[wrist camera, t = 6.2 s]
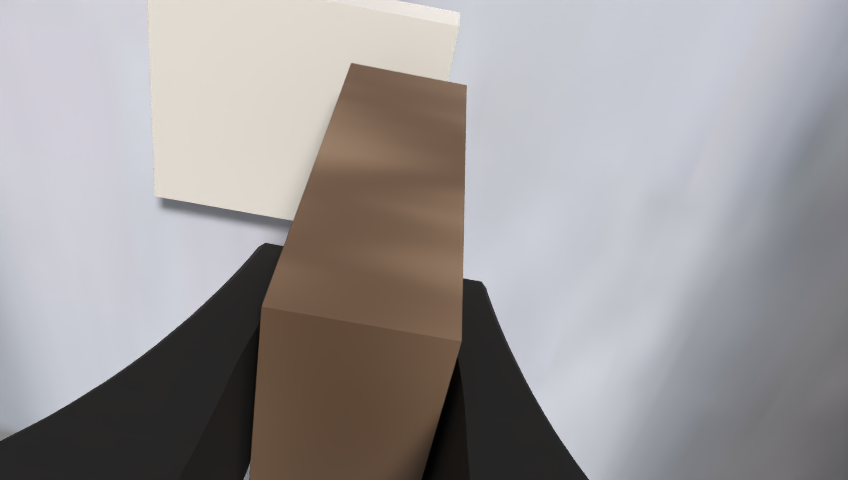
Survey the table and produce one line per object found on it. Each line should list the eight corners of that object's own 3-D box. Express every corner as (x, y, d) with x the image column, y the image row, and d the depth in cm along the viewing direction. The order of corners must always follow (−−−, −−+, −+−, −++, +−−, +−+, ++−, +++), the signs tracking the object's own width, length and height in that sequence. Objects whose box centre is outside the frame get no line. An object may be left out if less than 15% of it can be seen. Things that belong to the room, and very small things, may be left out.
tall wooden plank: (466, 85, 16) (461, 342, 9) (424, 267, 18) (397, 561, 12) (350, 62, 15) (261, 306, 9) (326, 249, 18) (245, 538, 12)
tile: (459, 26, 16) (145, -35, 16) (414, 242, 20) (154, 196, 19) (460, 6, 18) (169, -51, 17) (418, 212, 21) (174, 168, 21)
